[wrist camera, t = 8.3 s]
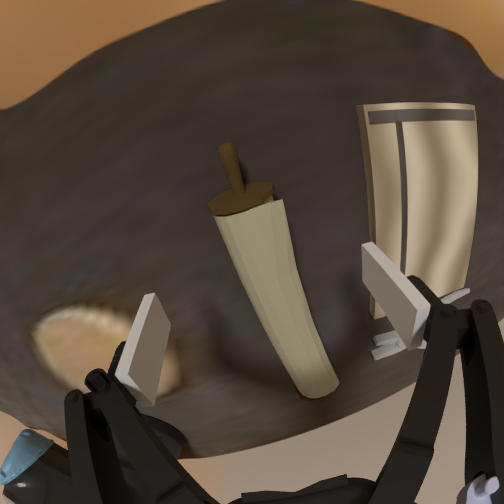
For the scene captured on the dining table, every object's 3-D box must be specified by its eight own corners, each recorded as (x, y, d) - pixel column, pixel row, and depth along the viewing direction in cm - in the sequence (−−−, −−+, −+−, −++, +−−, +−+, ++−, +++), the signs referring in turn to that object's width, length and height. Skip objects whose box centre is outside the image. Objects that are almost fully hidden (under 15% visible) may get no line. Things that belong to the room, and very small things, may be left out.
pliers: (455, 343, 32) (370, 375, 33) (450, 336, 34) (367, 366, 34) (474, 291, 28) (380, 323, 28) (467, 285, 29) (375, 314, 30)
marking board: (369, 310, 29) (374, 320, 27) (355, 105, 19) (363, 105, 18) (456, 280, 28) (463, 287, 26) (464, 104, 18) (475, 105, 17)
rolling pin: (191, 153, 21) (179, 164, 16) (259, 128, 20) (266, 131, 16) (297, 390, 35) (303, 420, 31) (336, 378, 34) (345, 407, 30)
